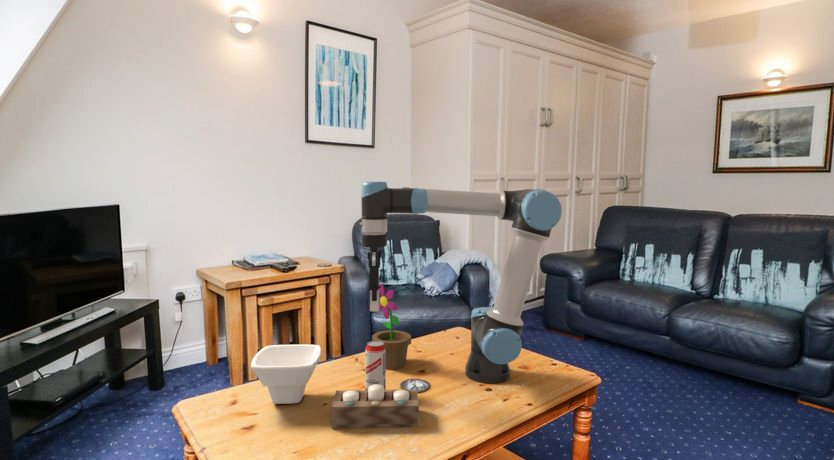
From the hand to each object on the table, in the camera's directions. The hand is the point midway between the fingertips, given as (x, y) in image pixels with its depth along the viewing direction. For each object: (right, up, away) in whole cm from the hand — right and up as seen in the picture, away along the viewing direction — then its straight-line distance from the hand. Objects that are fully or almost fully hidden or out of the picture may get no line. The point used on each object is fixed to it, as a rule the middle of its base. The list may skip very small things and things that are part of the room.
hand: (374, 310), depth 145 cm
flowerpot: (+4, -24, +27) cm, 36 cm away
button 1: (-5, -26, -12) cm, 29 cm away
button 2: (+9, -26, -12) cm, 30 cm away
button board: (+2, -28, -13) cm, 31 cm away
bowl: (-26, -27, -2) cm, 37 cm away
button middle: (+2, -24, -12) cm, 27 cm away
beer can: (0, -26, +3) cm, 27 cm away
